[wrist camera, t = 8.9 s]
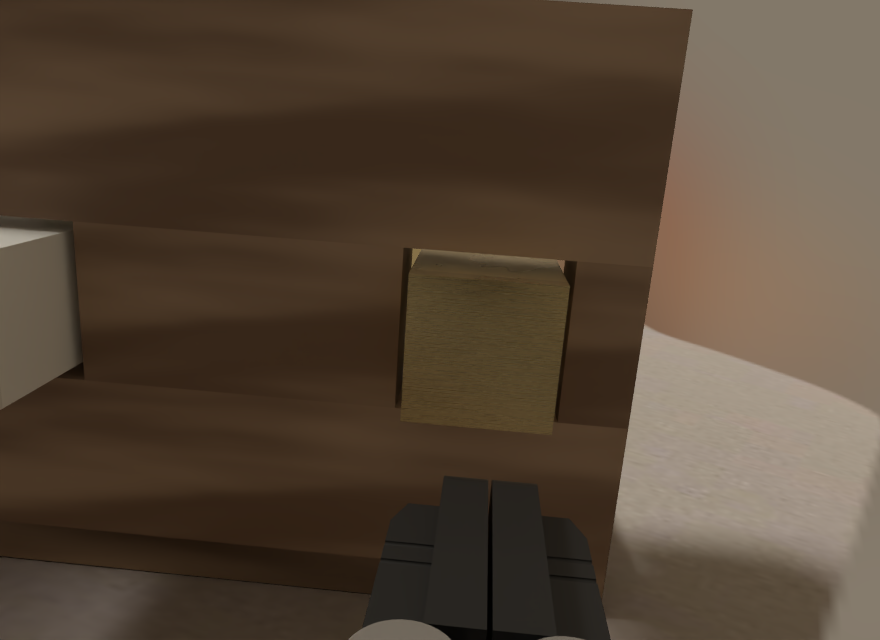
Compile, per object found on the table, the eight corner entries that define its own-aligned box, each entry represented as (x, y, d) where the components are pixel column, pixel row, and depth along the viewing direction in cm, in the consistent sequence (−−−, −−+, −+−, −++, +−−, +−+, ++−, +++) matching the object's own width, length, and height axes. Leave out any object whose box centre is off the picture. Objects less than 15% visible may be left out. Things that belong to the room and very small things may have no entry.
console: (599, 616, 25) (692, 9, 19) (-103, 545, 26) (-201, -47, 20) (573, 506, 32) (636, 41, 27) (26, 454, 33) (-21, -2, 28)
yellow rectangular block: (551, 435, 21) (570, 286, 20) (400, 421, 21) (408, 273, 20) (535, 355, 28) (547, 243, 27) (422, 345, 28) (430, 234, 27)
